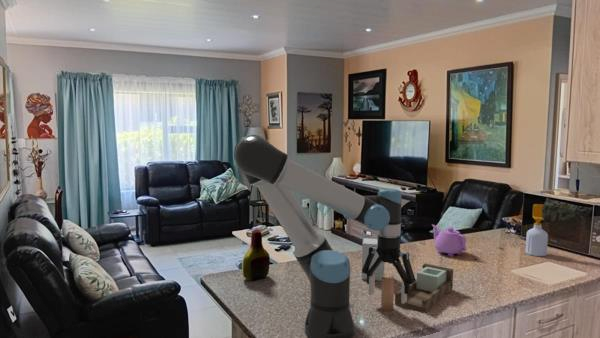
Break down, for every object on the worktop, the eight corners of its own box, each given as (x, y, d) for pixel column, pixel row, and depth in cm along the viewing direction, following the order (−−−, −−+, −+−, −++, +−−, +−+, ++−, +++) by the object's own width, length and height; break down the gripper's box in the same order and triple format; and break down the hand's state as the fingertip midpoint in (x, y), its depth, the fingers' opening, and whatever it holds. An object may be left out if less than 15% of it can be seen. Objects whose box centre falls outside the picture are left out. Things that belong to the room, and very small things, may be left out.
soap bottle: (527, 255, 215) (530, 204, 212) (524, 250, 224) (526, 201, 221) (548, 257, 212) (551, 205, 210) (544, 252, 221) (547, 202, 218)
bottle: (266, 273, 188) (266, 226, 186) (273, 278, 182) (273, 229, 180) (239, 278, 182) (239, 229, 180) (245, 283, 176) (245, 233, 174)
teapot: (421, 250, 223) (422, 225, 222) (440, 245, 231) (441, 221, 230) (456, 260, 207) (457, 233, 206) (475, 255, 215) (476, 229, 214)
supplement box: (383, 281, 179) (384, 244, 178) (361, 279, 181) (361, 243, 180) (384, 274, 188) (385, 238, 187) (362, 272, 190) (363, 237, 188)
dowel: (389, 312, 151) (390, 280, 149) (378, 309, 153) (379, 277, 152) (395, 308, 154) (396, 276, 153) (384, 305, 156) (385, 274, 155)
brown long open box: (425, 312, 150) (426, 289, 149) (394, 304, 157) (395, 282, 156) (452, 289, 171) (453, 269, 170) (424, 283, 177) (425, 263, 177)
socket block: (437, 293, 162) (437, 277, 162) (416, 288, 167) (416, 272, 167) (445, 286, 170) (446, 270, 169) (425, 281, 174) (426, 266, 174)
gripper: (427, 238, 146) (425, 303, 149) (363, 227, 161) (362, 286, 163) (418, 243, 140) (416, 310, 143) (352, 231, 155) (351, 293, 157)
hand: (387, 298), depth 153 cm, fingers open, 11 cm apart
